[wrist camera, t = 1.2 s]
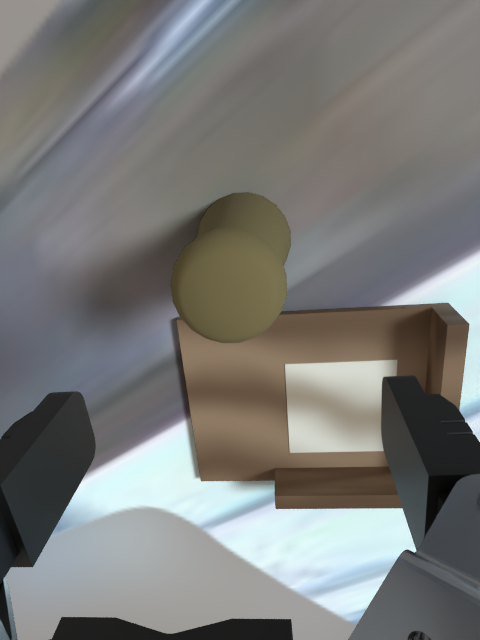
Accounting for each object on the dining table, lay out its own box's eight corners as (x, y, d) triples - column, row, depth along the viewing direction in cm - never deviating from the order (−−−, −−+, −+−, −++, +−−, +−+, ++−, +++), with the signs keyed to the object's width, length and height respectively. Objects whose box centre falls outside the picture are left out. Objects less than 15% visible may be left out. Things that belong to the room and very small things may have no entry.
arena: (178, 316, 31) (166, 338, 28) (448, 302, 29) (469, 323, 26) (202, 475, 36) (194, 509, 33) (431, 472, 34) (447, 507, 31)
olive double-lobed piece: (194, 280, 30) (151, 355, 20) (199, 186, 28) (154, 218, 17) (284, 290, 30) (287, 371, 20) (297, 197, 27) (308, 235, 17)
